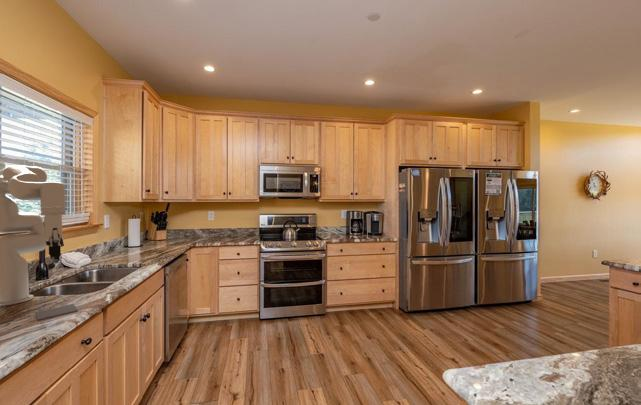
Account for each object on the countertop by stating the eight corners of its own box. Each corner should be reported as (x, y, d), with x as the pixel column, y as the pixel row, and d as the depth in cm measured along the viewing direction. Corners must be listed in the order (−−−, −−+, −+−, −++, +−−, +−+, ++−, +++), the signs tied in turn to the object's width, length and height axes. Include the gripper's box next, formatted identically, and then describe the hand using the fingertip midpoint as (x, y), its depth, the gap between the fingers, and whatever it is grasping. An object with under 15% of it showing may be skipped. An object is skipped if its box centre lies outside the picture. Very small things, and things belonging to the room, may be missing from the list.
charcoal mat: (35, 313, 117) (35, 311, 117) (73, 304, 126) (73, 303, 126) (37, 320, 109) (37, 319, 109) (77, 311, 118) (77, 310, 118)
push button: (64, 262, 117) (63, 239, 116) (46, 265, 113) (45, 240, 112) (63, 259, 121) (62, 237, 121) (46, 262, 118) (45, 238, 117)
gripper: (39, 211, 120) (40, 254, 120) (42, 212, 109) (43, 259, 109) (63, 211, 126) (64, 251, 126) (68, 211, 114) (69, 256, 114)
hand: (54, 254), depth 117 cm, fingers closed on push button, 4 cm apart
